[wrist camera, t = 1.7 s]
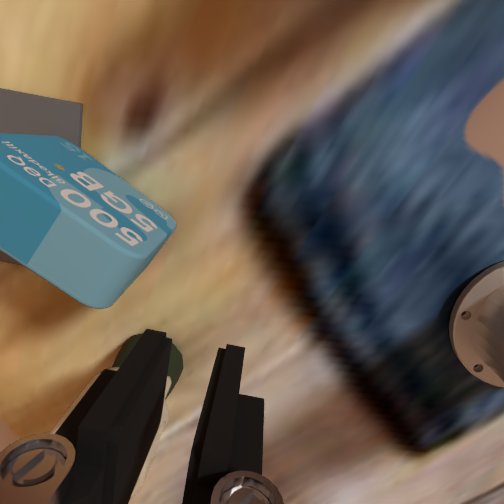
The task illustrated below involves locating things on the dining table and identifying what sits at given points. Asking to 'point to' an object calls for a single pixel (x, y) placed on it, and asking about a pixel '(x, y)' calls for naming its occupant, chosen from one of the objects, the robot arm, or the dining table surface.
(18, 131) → the mat
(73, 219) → the data package
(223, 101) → the dining table surface
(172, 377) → the character mug
